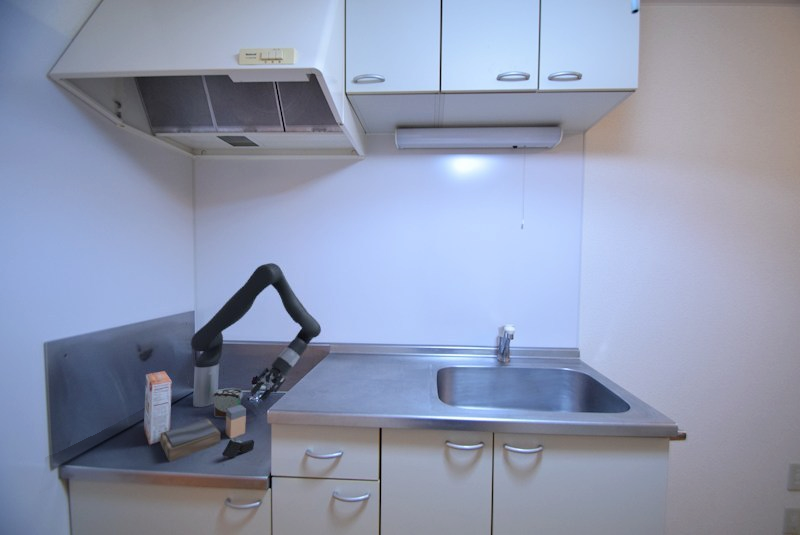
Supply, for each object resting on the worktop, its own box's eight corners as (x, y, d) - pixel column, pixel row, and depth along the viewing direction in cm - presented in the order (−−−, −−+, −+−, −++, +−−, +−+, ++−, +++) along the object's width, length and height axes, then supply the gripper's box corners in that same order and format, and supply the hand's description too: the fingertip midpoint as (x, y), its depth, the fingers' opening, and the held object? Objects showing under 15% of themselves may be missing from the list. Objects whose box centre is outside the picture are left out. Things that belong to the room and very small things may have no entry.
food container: (248, 411, 124) (249, 388, 124) (239, 418, 118) (240, 394, 118) (221, 409, 125) (222, 386, 126) (211, 416, 119) (212, 391, 119)
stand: (160, 443, 100) (160, 431, 100) (207, 428, 110) (207, 417, 110) (169, 461, 90) (170, 448, 90) (219, 443, 101) (220, 431, 101)
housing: (225, 433, 107) (226, 408, 107) (239, 428, 111) (240, 404, 111) (230, 438, 104) (231, 413, 104) (245, 433, 108) (246, 408, 108)
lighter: (244, 457, 98) (254, 439, 100) (247, 459, 96) (257, 441, 99) (221, 452, 92) (232, 433, 95) (223, 455, 91) (234, 436, 93)
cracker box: (142, 430, 107) (145, 373, 108) (163, 424, 112) (165, 370, 112) (147, 446, 98) (150, 384, 98) (169, 439, 102) (172, 379, 103)
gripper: (272, 352, 125) (242, 386, 116) (288, 359, 116) (258, 397, 107) (283, 362, 129) (255, 396, 120) (300, 370, 120) (271, 407, 111)
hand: (256, 396), depth 113 cm, fingers open, 8 cm apart
